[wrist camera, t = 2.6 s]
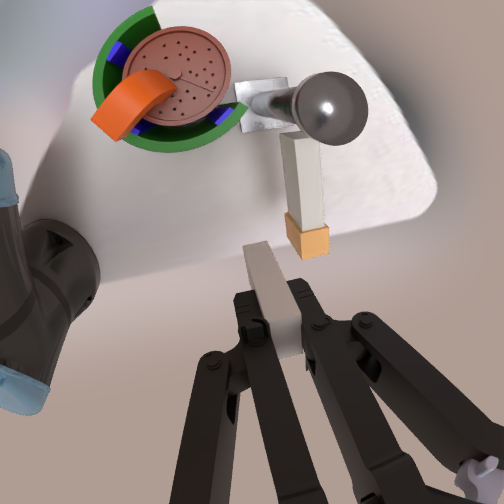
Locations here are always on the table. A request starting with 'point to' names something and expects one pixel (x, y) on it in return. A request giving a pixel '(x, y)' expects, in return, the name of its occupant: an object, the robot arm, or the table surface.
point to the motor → (162, 86)
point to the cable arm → (304, 195)
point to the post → (306, 106)
